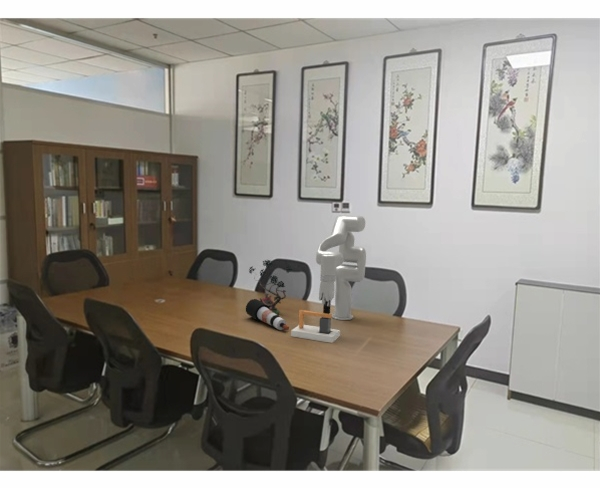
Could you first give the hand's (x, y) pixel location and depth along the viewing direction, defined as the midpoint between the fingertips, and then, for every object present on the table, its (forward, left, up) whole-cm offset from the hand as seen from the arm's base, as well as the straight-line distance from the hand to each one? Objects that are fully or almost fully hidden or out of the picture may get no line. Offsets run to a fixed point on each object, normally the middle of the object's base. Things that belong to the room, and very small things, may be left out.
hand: (326, 313), depth 239 cm
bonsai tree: (-29, -50, -12) cm, 59 cm away
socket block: (+5, -4, -12) cm, 14 cm away
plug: (+5, +1, -11) cm, 12 cm away
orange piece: (+5, -4, -8) cm, 10 cm away
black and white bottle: (-5, -35, -13) cm, 38 cm away
